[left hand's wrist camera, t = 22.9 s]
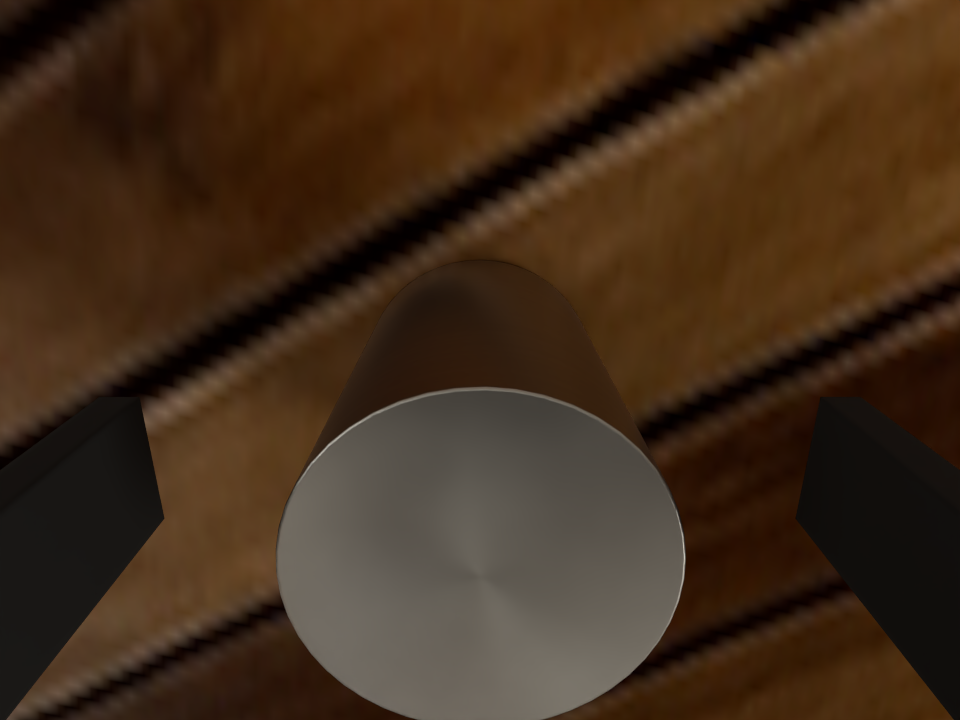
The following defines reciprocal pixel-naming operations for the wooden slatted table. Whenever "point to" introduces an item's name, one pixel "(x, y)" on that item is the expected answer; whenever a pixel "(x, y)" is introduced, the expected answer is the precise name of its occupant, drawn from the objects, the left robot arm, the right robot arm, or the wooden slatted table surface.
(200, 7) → the wooden slatted table surface
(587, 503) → the can
